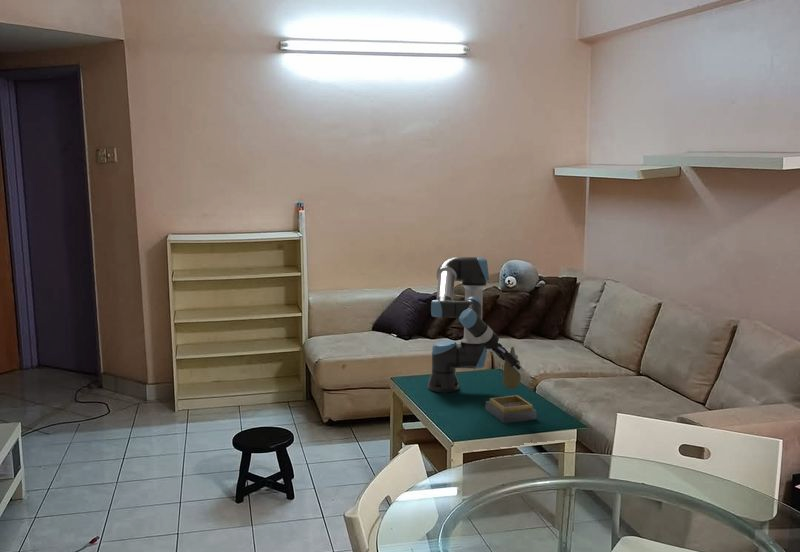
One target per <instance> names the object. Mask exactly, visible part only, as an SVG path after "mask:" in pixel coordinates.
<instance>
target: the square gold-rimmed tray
mask: <svg viewBox="0 0 800 552" xmlns="http://www.w3.org/2000/svg"><path fill="white" fill-rule="evenodd" d="M484 409H485V411H486V412H488V414H490V415H491V416H493V417H494V418H496V419H497V420H498V421H500V422H501V423H503V424H509V423H517V422H526V421H532V420H533V421H534V420H537V415H538V414H537V413H538V412H537V409H535V408H534V405H533V404H532V403H530V402H529V401H527V400H525V398H523V397H521V396H520V395H518V394H515V395H506V396H499V397H489V400H486V401H485V408H484Z"/></svg>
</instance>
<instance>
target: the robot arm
mask: <svg viewBox="0 0 800 552" xmlns="http://www.w3.org/2000/svg"><path fill="white" fill-rule="evenodd" d="M489 275H490V274H489V267H488V259H486V258H485V257H476V256H475V257H473V256H471V257H470V256H469V257H468V256H463V257H462V256H461V257H459V256H454V257H450V258H448V259H446V260H445V261H443V262H441V264H440V265H439V267H438V268H437V270H436V280H437V288H436V290H437V291H436V299H433V300H431V304H430V313H431V317H434V318H454V319H455V318H456V319H457V318H458V321H459V322H460V324H461V325H462V327H463V328H464V329H463V338H462V339H461V340H460V343H457V342H456V341H455V340H453V339H445V340H439V341H437V342H435V343H434V344H433V345H432V349H431V350H432V351H431V373H430V376H429V379H428V382H427V389H428V390H430V391H432V392H435V393H453V392H456V391H458V390H459V387H460V383H459V380H458V378H457V377H458V376H457V374H456V369H469V370H470V369H473V370H478V369H479V370H482V369H483V368H485V366H486V361H487V354H488V350H492V351H493V352H494V353H495V355H496V356H497V357H499V359H501V360H502V361H504V363H505V360H507V361H508V362H509V363H510V364H511V365H512V366H511V367H514V368H515V369H516V370H517V371H518V373H519V374H520V375H521V376H522V375H523V374H524V373H525V372H526V369H524V367H523V366H522V365H521V364H519V363H518V361H517V360H518V359H517V360H516V359H515V358H514V357H513V356H512V355H511V354H510V352H509V351H508V350H507V349H506V347H503V345H502V343H501V342H500V343H499V340H500V337H499V336H498V335H497V333H496V332H494V330H493V329H492V328H491V326H489V325H488V324H487V323H486V322H485V321H484V320H483V303H484V302H483V301H484V299H483V297H484V296H483V295H484V288H485V287H486V286H487V283H489V282H490V276H489ZM455 282H461V286H462V287H463V288H464V300H454V292H455Z"/></svg>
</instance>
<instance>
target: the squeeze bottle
mask: <svg viewBox="0 0 800 552" xmlns="http://www.w3.org/2000/svg"><path fill="white" fill-rule="evenodd" d="M509 353H510V354H511V355H512V356H513V357H514V358H515V359H516V360H517V361H518V363H519V364H520V363H521V362H520V360H519V357H518V356H519V355H517V354H516V352H515V347H513V346H511V348H510V352H509ZM504 361H505V362H504V364H503V371H502V382H503V385H504V387H505V388H506V389H517V388H519V386H520V383H521V380H522V379H521V376H522V375H520V374H519V373H518V371H517V370H516V369H515V368H514V367H511V366H512V365H511V364H510V363H509V362H508V361H507V360H504ZM520 365H521V364H520Z"/></svg>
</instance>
